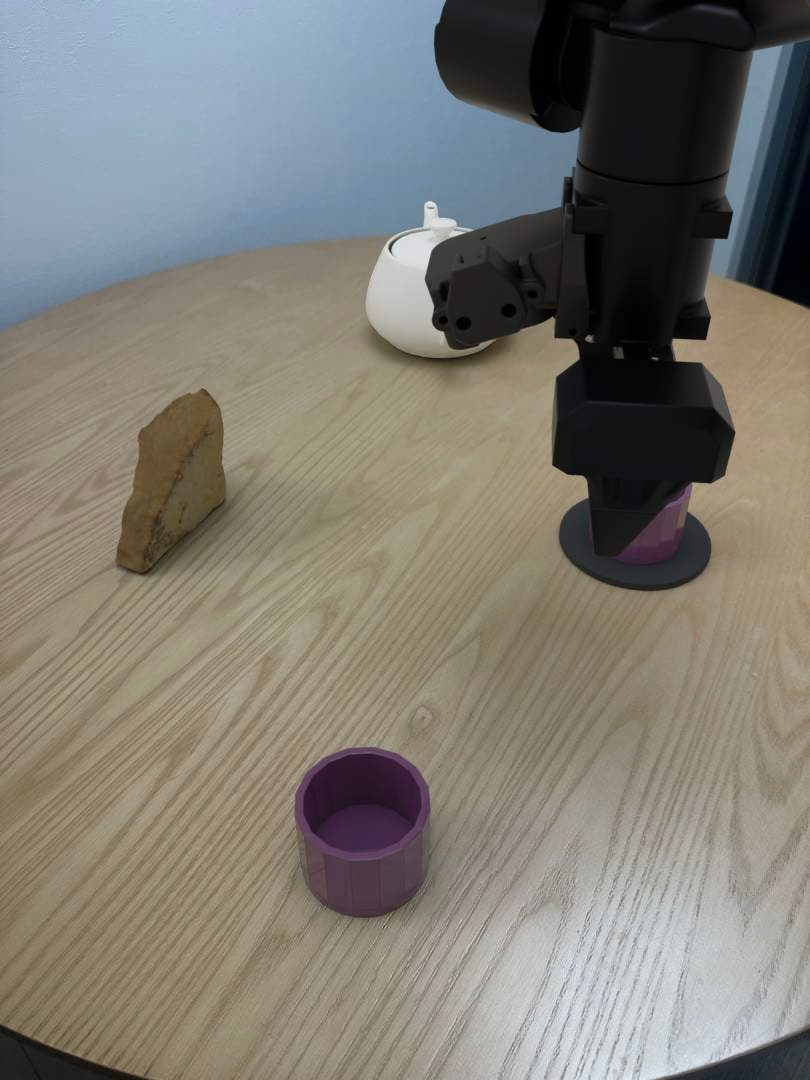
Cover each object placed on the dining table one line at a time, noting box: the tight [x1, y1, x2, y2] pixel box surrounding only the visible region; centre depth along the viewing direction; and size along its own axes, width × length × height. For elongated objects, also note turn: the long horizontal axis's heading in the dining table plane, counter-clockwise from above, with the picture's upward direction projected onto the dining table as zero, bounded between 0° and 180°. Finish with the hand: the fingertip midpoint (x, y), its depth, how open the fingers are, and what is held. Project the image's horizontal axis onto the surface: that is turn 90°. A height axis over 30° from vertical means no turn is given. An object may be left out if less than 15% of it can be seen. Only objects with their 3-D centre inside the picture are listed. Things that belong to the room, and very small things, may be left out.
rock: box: [114, 387, 227, 574], centre depth 63 cm, size 11×9×10 cm
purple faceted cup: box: [293, 746, 432, 918], centre depth 43 cm, size 6×6×4 cm
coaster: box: [558, 497, 712, 591], centre depth 63 cm, size 10×10×1 cm
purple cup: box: [589, 483, 693, 565], centre depth 62 cm, size 6×6×4 cm
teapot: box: [365, 200, 497, 359], centre depth 85 cm, size 22×14×11 cm, turn 4°
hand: (600, 494), depth 46 cm, fingers open, 9 cm apart
